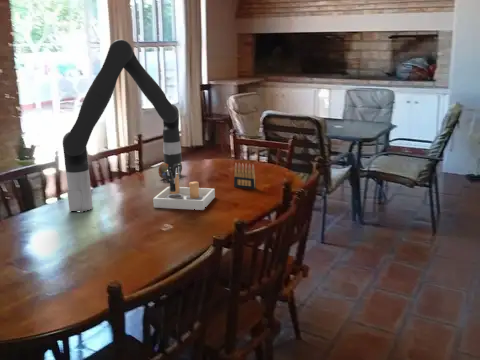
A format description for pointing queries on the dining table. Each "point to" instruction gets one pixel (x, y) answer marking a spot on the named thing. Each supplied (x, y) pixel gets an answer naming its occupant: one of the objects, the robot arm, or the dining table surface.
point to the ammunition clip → (244, 176)
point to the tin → (164, 170)
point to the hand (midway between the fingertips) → (174, 189)
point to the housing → (185, 198)
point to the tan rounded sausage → (176, 185)
